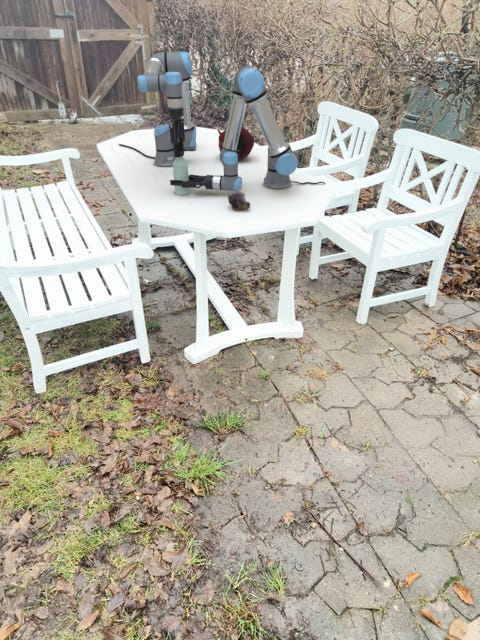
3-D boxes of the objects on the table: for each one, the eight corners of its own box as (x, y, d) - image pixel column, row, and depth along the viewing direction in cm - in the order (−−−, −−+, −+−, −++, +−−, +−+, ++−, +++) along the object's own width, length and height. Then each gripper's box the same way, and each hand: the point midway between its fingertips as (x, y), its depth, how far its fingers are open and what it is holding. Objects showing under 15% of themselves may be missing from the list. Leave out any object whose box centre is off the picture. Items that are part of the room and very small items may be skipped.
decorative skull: (215, 132, 306) (215, 129, 282) (249, 124, 305) (251, 121, 281) (222, 164, 313) (222, 164, 289) (255, 157, 312) (258, 156, 288)
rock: (241, 205, 233) (224, 208, 228) (240, 189, 229) (223, 191, 225) (252, 209, 223) (235, 212, 219) (252, 191, 219) (234, 194, 215)
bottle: (174, 194, 244) (170, 154, 232) (176, 190, 251) (172, 151, 239) (188, 194, 244) (185, 154, 232) (190, 190, 251) (187, 150, 239)
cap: (182, 154, 238) (182, 150, 237) (184, 156, 235) (184, 152, 234) (174, 155, 237) (174, 150, 236) (175, 157, 234) (175, 153, 233)
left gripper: (176, 104, 231) (180, 151, 244) (160, 110, 217) (165, 159, 230) (189, 104, 229) (192, 152, 242) (174, 111, 215) (178, 160, 228)
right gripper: (208, 195, 234) (167, 193, 238) (218, 183, 251) (179, 181, 255) (207, 181, 230) (165, 178, 234) (218, 169, 247) (178, 167, 251)
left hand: (179, 155), depth 236 cm, fingers open, 5 cm apart
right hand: (173, 180), depth 244 cm, fingers closed on bottle, 8 cm apart
